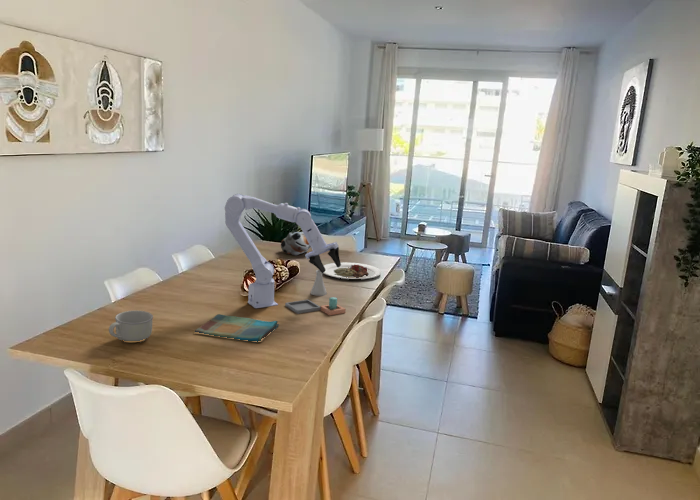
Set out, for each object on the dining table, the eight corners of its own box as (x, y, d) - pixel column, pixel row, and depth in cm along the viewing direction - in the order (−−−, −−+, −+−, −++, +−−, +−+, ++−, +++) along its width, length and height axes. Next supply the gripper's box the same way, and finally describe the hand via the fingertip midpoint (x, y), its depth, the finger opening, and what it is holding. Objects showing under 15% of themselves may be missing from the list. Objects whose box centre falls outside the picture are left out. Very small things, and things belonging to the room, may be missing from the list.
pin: (331, 312, 194) (331, 300, 193) (327, 310, 197) (327, 297, 196) (338, 311, 196) (338, 299, 195) (333, 309, 198) (334, 296, 197)
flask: (324, 297, 214) (325, 273, 212) (308, 295, 215) (308, 272, 213) (329, 292, 221) (330, 269, 219) (312, 290, 222) (313, 268, 220)
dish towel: (261, 345, 164) (261, 338, 163) (193, 335, 168) (193, 328, 168) (279, 327, 180) (279, 320, 179) (217, 318, 185) (217, 311, 184)
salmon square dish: (329, 316, 192) (329, 311, 191) (320, 310, 197) (320, 305, 197) (345, 313, 196) (345, 308, 195) (335, 307, 201) (335, 303, 201)
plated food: (313, 278, 241) (313, 271, 241) (327, 263, 270) (327, 257, 270) (376, 284, 237) (377, 277, 236) (384, 269, 265) (384, 262, 265)
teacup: (142, 330, 169) (141, 307, 167) (160, 340, 162) (159, 316, 160) (99, 342, 158) (98, 317, 156) (116, 353, 151) (115, 327, 150)
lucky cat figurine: (307, 249, 299) (317, 228, 290) (307, 264, 288) (317, 242, 279) (279, 241, 294) (288, 219, 286) (278, 255, 283) (287, 233, 275)
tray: (297, 314, 192) (297, 310, 191) (285, 306, 200) (285, 302, 199) (320, 310, 197) (320, 307, 197) (308, 303, 205) (308, 299, 205)
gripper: (334, 228, 196) (350, 259, 199) (305, 240, 204) (321, 269, 207) (326, 235, 191) (343, 267, 194) (296, 247, 198) (313, 277, 201)
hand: (331, 269), depth 200 cm, fingers open, 7 cm apart
